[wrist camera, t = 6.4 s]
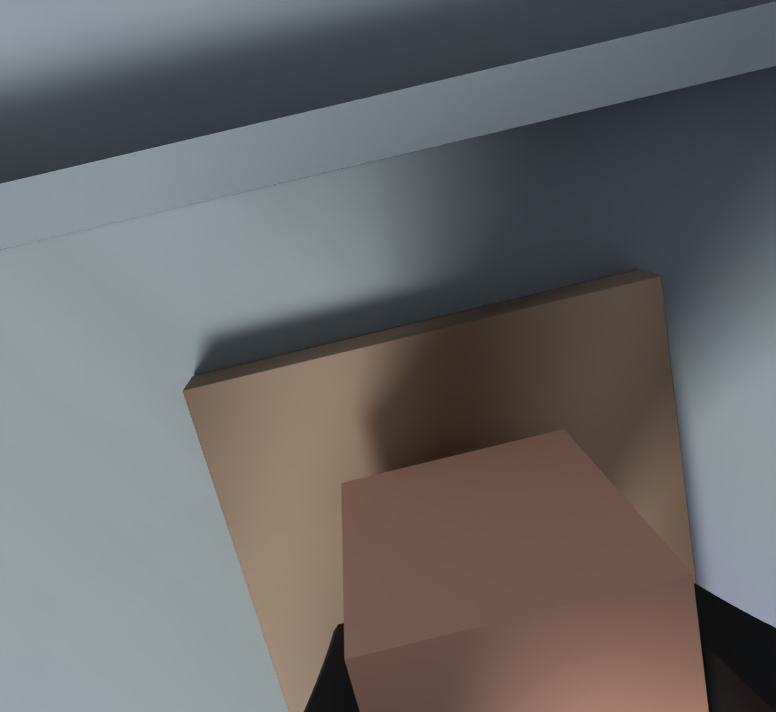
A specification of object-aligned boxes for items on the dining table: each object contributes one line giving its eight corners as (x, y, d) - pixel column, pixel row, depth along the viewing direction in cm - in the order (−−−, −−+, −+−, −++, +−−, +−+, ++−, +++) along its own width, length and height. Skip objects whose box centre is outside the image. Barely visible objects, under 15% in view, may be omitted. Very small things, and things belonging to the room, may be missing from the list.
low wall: (901, -18, 14) (1022, -57, 11) (902, 35, 14) (1020, 8, 12) (-74, 212, 13) (-163, 222, 11) (-54, 261, 14) (-137, 281, 11)
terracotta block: (563, 428, 13) (692, 573, 9) (595, 619, 15) (724, 840, 10) (341, 482, 13) (344, 659, 8) (391, 669, 15) (419, 916, 10)
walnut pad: (639, 268, 15) (660, 276, 14) (685, 644, 18) (705, 671, 17) (193, 376, 15) (182, 390, 14) (309, 736, 17) (308, 770, 16)
